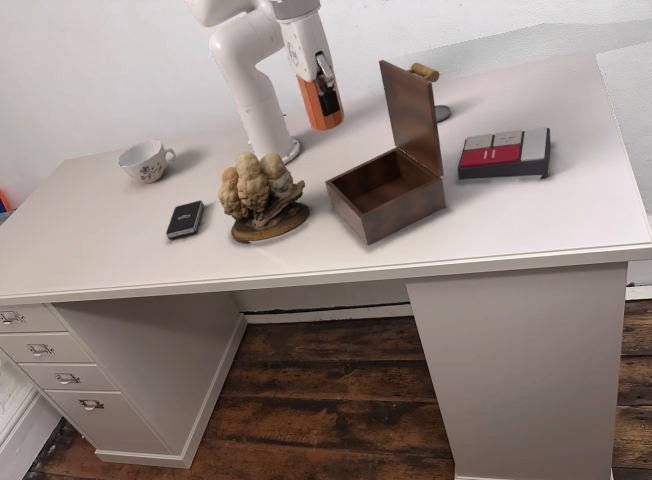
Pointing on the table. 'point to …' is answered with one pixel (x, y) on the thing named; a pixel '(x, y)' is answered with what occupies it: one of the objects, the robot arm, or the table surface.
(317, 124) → the cup
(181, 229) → the external hard drive
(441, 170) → the lid
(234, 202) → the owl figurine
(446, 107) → the pocket watch
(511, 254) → the table surface
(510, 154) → the calculator
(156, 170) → the teacup
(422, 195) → the chest
